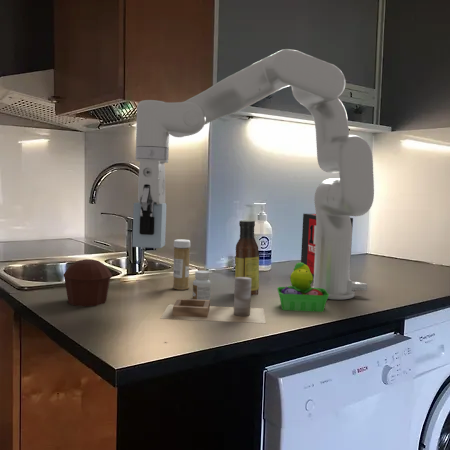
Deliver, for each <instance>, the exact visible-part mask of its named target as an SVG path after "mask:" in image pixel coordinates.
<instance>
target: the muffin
mask: <svg viewBox="0 0 450 450" xmlns="http://www.w3.org/2000/svg"><path fill="white" fill-rule="evenodd" d="M112 277H113V274H112V272H111V270H110V269H109V268H108V267H107V266H106V265H105V264H104V263H103V262H100V261H99V260H96V259H93V258H92V259H89V258H88V259H81V260H77V261H75V262H74V263H72V264H71V265H70V266H69V267H68V268H67V269H66V271H65V272H64V273H63V278H64V283H65V290H66V297H67V302H68V304H70V305H72V306H78V307H95V306H96V307H97V306H100V305H104V304H106V302H107V300H108V295H109V287H110V282H111V278H112Z"/></svg>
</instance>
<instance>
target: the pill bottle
mask: <svg viewBox="0 0 450 450" xmlns="http://www.w3.org/2000/svg"><path fill="white" fill-rule="evenodd" d="M194 273H195V274H194V275H195V279H194V280H193V282H192V299H198V300H210V301H211V297H212V296H211V293H212V291H211V290H212V289H211V288H212V282H211V280H210V279H209V278H210V271H209V270H196V271H195V272H194Z"/></svg>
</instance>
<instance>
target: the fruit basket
mask: <svg viewBox="0 0 450 450" xmlns="http://www.w3.org/2000/svg"><path fill="white" fill-rule="evenodd" d="M289 278H290V284H291V285H288V286H278V287H277V288H276V289H277V293H278V296H279V300H280V305H281V309H282V310H283V311H296V312H297V311H298V312H300V311H301V312H318V313H321V312H322V313H323V312H324V310H325V307H326V303H327V301H328V300H329V299H328V296H329V294H328V293H327V292H326V290H325V289H323V288H312V286H311V285H312V284H313V282H314V279H313V276H312V274H311V272H310V269H309V267H308V266H307V265H305V264H304V263H302V262H301V261H300V262H297V263H296V264H295V265H294V268H293V271H292V272H291V273H290V277H289Z"/></svg>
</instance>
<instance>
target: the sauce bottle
mask: <svg viewBox="0 0 450 450" xmlns="http://www.w3.org/2000/svg"><path fill="white" fill-rule="evenodd" d="M238 224H239V225H238V226H239V231H240V232H239V239H238V240H237V242H236V244H235V256H234V258H235V262H234V263H235V265H234V267H235V271H234V273H235V274H234V275H235V276H234V279H235V278H236V277H248V278H251V296H253V295H255V296H256V295H257V296H258V295H259V289H260V254H259V246H258V244H257V241H256V238H255V225H256V221H255V220H253V219H252V220H251V219H242V220H239V223H238Z"/></svg>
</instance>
